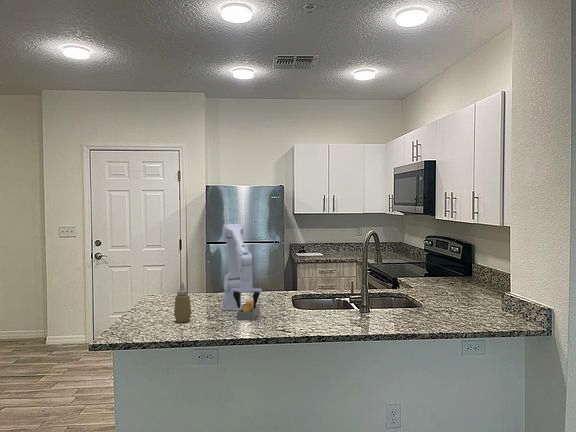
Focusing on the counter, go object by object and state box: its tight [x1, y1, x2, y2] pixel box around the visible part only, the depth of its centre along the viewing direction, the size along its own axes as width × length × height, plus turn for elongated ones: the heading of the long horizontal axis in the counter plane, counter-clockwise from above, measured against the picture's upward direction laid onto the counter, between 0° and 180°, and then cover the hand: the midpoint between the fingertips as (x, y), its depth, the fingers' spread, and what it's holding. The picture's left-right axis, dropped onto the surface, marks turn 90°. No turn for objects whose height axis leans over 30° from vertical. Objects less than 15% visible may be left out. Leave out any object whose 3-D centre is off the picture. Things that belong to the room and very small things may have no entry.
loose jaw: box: [241, 303, 251, 312], centre depth 218 cm, size 4×4×6 cm
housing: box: [236, 300, 261, 321], centre depth 221 cm, size 8×14×6 cm, turn 172°
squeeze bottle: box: [173, 282, 192, 323], centre depth 214 cm, size 8×8×18 cm
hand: (246, 308), depth 218 cm, fingers open, 7 cm apart
